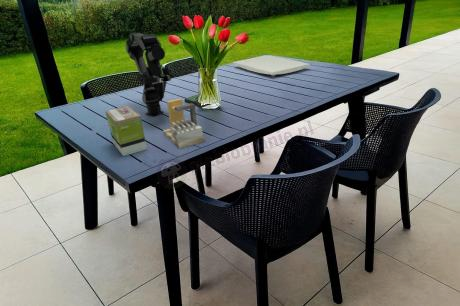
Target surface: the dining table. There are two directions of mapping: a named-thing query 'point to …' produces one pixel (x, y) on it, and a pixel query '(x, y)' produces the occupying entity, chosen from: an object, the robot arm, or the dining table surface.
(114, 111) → the tea box
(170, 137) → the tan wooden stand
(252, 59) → the board
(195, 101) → the disk drive
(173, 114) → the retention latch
